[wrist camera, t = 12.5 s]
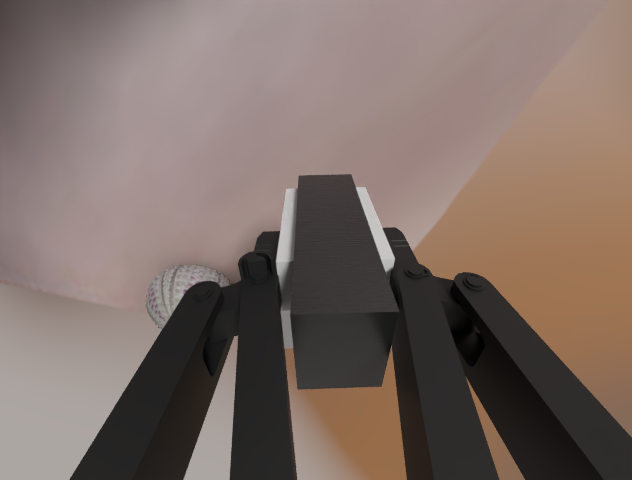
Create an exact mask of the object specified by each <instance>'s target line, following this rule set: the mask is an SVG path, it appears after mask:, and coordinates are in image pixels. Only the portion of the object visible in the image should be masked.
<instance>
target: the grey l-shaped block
mask: <svg viewBox="0 0 632 480" xmlns="http://www.w3.org/2000/svg"><path fill="white" fill-rule="evenodd" d="M398 315H399V309H398V306H397V303H396V301H395V298H394V295H393V292H392V289H391V286H390V283H389V281H388V278H387V275H386V272H385V269H384V266H383V264H382V261H381V258H380V255H379V252H378V249H377V246H376V244H375V241H374V238H373V235H372V232H371V229H370V227H369V224H368V221H367V218H366V215H365V212H364V210H363V207H362V204H361V201H360V198H359V195H358V192H357V190H356V187H355V184H354V181H353V178H352V175H351V174H347V175H306V176H299V180H298V196H297V212H296V227H295V243H294V259H293V275H292V291H291V306H290V310H286V311H282V306H281V319H282V329H283V339H284V348H293V349H294V358H295V368H296V378H297V388H298V389H320V388H321V389H322V388H351V387H380V386H382V382H383V378H384V374H385V369H386V366H387V361H388V357H389V352H390V349H391V345H392V340H393V336H394V332H395V328H396V324H397V320H398Z"/></svg>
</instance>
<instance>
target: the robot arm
mask: <svg viewBox="0 0 632 480" xmlns="http://www.w3.org/2000/svg"><path fill="white" fill-rule="evenodd" d="M356 190H357V192H358V195H359V198H360V201H361V204H362V207H363V210H364V212H365V215H366V218H367V221H368V224H369V227H370V229H371V232H372V235H373V238H374V241H375V244H376V246H377V249H378V252H379V255H380V258H381V261H382V264H383V266H384V269H385V272H386V275H387V278H388V281H389V283H390V286H391V289H392V292H393V295H394V298H395V301H396V303H397V306H398V309H399V315H398V320H397V324H396V328H395V332H394V336H393V340H392V352H393V360H394V370H395V378H396V387H397V396H398V403H399V404H398V405H399V413H400V422H401V431H402V440H403V449H404V457H405V466H406V475H407V480H499V477H498V474H497V471H496V468H495V465H494V462H493V459H492V456H491V453H490V450H489V447H488V444H487V441H486V437H485V435H484V432H483V429H482V425H481V422H480V419H479V416H478V413H477V410H476V407H475V404H474V401H473V398H472V395H471V392H470V389H469V386H468V383H467V379H468V381H469V382H470V384H471V386H472V388H473V390H474V391H475V393H476V395H477V396H478V398H479V400H480V402H481V403H482V405H483V407H484V409H485V410H486V412H487V414H488V416H489V417H490V419H491V421H492V423H493V424H494V426H495V428H496V430H497V431H498V433H499V435H500V437H501V438H502V440H503V442H504V443H505V445H506V447H507V449H508V450H509V452H510V454H511V456H512V457H513V459H514V461H515V463H516V464H517V466H518V468H519V469H520V471H521V473H522V474H523V476H524V478H525V480H632V437H631V436H630V435H629V434H628V433H627V432H626V431H625V430H624V429H623V428H622V427H621V426H620V424H619V423H618V422H617V421H616V420H615V419H614V418H613V417H612V416H611V414H610V413H609V412H608V411H607V410H606V409H605V408H604V407H603V406H602V405H601V404H600V402H599V401H598V400H597V399H596V398H595V397H594V396H593V395H592V394H591V393H590V391H589V390H588V389H587V388H586V387H585V386H584V385H583V384H582V383H581V382H580V381H579V379H577V377H576V376H575V375H574V374H573V373H572V372H571V371H570V370H569V368H568V367H567V366H566V365H565V364H564V363H563V362H562V361H561V360H560V359H559V357H558V356H557V355H556V354H555V353H554V352H553V351H552V350H551V349H550V348H549V347H548V345H547V344H546V343H545V342H544V341H543V340H542V339H541V338H540V337H539V335H538V334H537V333H536V332H535V331H534V330H533V329H532V328H531V327H530V326H529V325H528V324H527V322H526V321H525V320H524V319H523V318H522V317H521V316H520V315H519V314H518V312H517V311H516V310H515V309H514V308H513V307H512V306H511V305H510V304H509V303H508V302H507V301H506V299H505V298H504V297H503V296H502V295H501V294H500V293H499V292H498V291H497V289H496V288H495V287H494V286H493V285H492V284H491V283H490V282H489V281H488V280H487V279H485V278H484V277H482V276H480V275H477V274H474V273H467V272H463V273H459V274H458V275H456V276H455V278H454V280H449V279H444V278H439V277H435V276H433V275H432V273H431V272H430V270H429V269H427V268H426V267H425V266H423V265H421V264H419V263H418V261H417V259H416V257H415V256H414V254H413V252H412V250H411V248H410V246H409V244H408V242H407V241H406V238H405V236H404V234H403V233H402V232H401V231H400V230H398V229H397V228H382V226H381V224H380V222H379V219H378V217H377V214H376V212H375V210H374V207H373V205H372V202H371V200H370V198H369V195H368V193H367V191H366V188H365V187H356ZM297 196H298V189H286V195H285V202H284V209H283V216H282V223H281V230H280V231H273V232H263V233H262V234H261V235H260V236H259V237H258V238H257V242H256V246H255V250H254V252H249V253H247V254H245V255H244V256H242V257H241V258H240V260H239V262H238V266H239V271H240V275H241V279H242V280H241V281H239V282H237V283H235V284H232V285H228V286H225V287H220V285H219V284H218V283H216V282H214V281H202V282H199V283H196V284H194V285H193V286H191V287H190V288H189V289H188V290H187V291H186V292H185V294H184V295H183V297H182V299H181V300H180V302H179V303H178V305H177V307H176V308H175V310H174V311H173V313H172V315H171V316H170V318H169V320H168V321H167V323H166V324H165V326H164V328H163V329H162V331H161V332H160V334H159V336H158V337H157V339H156V341H155V342H154V344H153V345H152V347H151V349H150V350H149V352H148V354H147V355H146V357H145V359H144V360H143V362H142V363H141V365H140V367H139V368H138V370H137V371H136V373H135V375H134V376H133V378H132V379H131V381H130V383H129V384H128V386H127V388H126V389H125V391H124V392H123V394H122V396H121V397H120V399H119V401H118V402H117V404H116V405H115V407H114V409H113V410H112V412H111V413H110V415H109V417H108V418H107V420H106V421H105V423H104V425H103V426H102V428H101V430H100V431H99V433H98V434H97V436H96V438H95V439H94V441H93V442H92V444H91V446H90V447H89V449H88V451H87V452H86V454H85V456H84V457H83V459H82V460H81V462H80V464H79V465H78V467H77V468H76V470H75V472H74V473H73V475H72V476H71V478H70V480H183V479H184V476H185V473H186V470H187V468H188V465H189V462H190V459H191V456H192V453H193V450H194V448H195V445H196V442H197V439H198V437H199V434H200V431H201V428H202V425H203V422H204V420H205V417H206V414H207V411H208V408H209V406H210V403H211V400H212V397H213V394H214V391H215V388H216V386H217V383H218V380H219V377H220V374H221V372H222V369H223V366H224V363H225V360H226V358H227V355H228V352H229V349H230V346H231V343H232V340H233V338H234V336H237V335H238V350H237V366H236V384H235V400H234V417H233V435H232V450H231V468H230V480H297V473H296V463H295V453H294V442H293V432H292V422H291V411H290V401H289V391H288V381H287V370H286V360H285V350H284V339H283V329H282V319H281V306H282V311H286V310H290V306H291V291H292V275H293V259H294V243H295V227H296V212H297ZM466 378H467V379H466Z"/></svg>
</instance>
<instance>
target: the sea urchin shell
mask: <svg viewBox="0 0 632 480" xmlns="http://www.w3.org/2000/svg"><path fill="white" fill-rule="evenodd" d="M202 281H214V282H216V283H218V284H219V285H220V287H225V286H228V285H231V284H229V279H227V278H226V277H224V276H223V274H218V273H217V272H216V270H212V269H210V268H209V267H208V268H206V267H205V266H197V265H195V264H193V265H190V264H189V265H188V266H187V265H185V266H184V267H183V266H181V265H178V266H174V267H170V268H169V269H166V271H165V272H161V274H160V275H157V276H156V278H155V280H153V281H151V285H150V286H149V288H148V292H147V295H146V297H147V299H146V300H145V301H146V305H145V306H146V308H147V312H148V314H149V315H150V317H151V319H152V320H153V321H154V322H155V324H156V325H158V328H161V329H163V328H164V326H165V324H166V323H167V321H168V320H169V318H170V316H171V315H172V313H173V311H174V310H175V308H176V307H177V305H178V303H179V302H180V300H181V299H182V297H183V295H184V294H185V292H186V291H187V290H188V289H189V288H190V287H191V286H193V285H194V284H196V283H199V282H202Z"/></svg>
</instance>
